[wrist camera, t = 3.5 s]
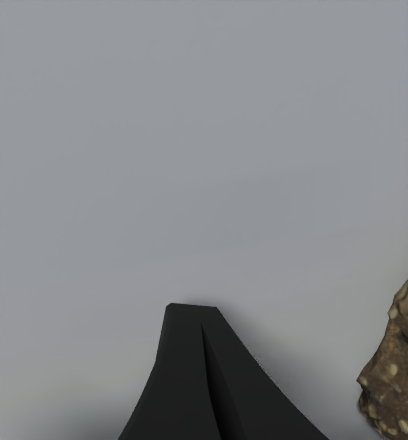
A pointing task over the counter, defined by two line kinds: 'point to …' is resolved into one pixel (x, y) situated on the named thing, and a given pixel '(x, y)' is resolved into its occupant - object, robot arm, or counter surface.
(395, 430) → the bread roll
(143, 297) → the counter surface
